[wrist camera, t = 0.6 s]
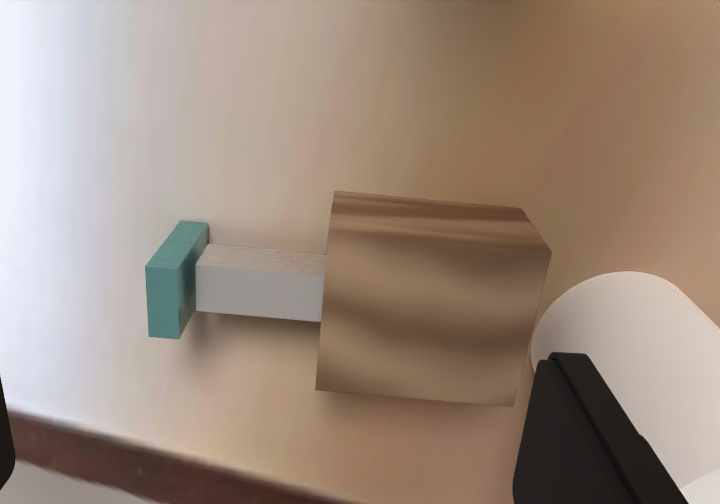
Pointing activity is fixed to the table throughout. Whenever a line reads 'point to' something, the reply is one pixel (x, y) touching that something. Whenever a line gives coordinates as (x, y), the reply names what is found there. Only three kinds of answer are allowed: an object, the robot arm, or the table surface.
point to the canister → (649, 366)
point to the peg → (228, 281)
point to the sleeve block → (428, 299)
